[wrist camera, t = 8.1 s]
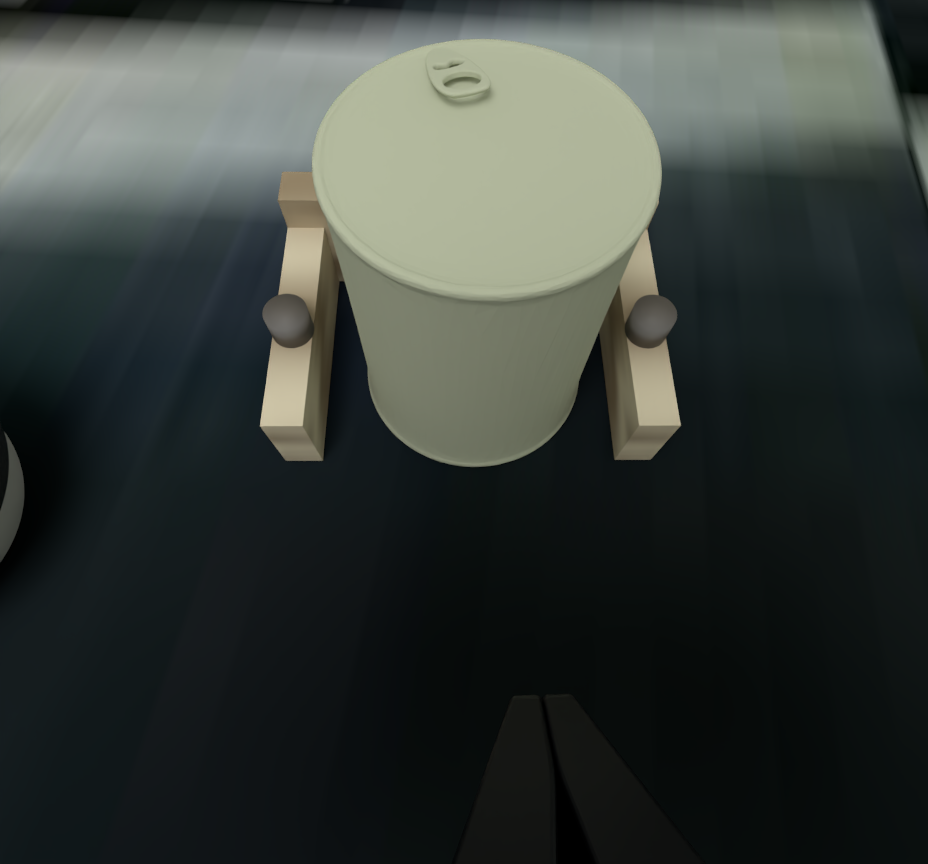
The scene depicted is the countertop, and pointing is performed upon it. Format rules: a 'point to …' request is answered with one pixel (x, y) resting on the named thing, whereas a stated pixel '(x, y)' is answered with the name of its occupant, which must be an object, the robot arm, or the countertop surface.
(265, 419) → the frame
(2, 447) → the pump dispenser
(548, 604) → the countertop surface
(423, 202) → the can
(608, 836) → the robot arm
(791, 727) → the countertop surface
